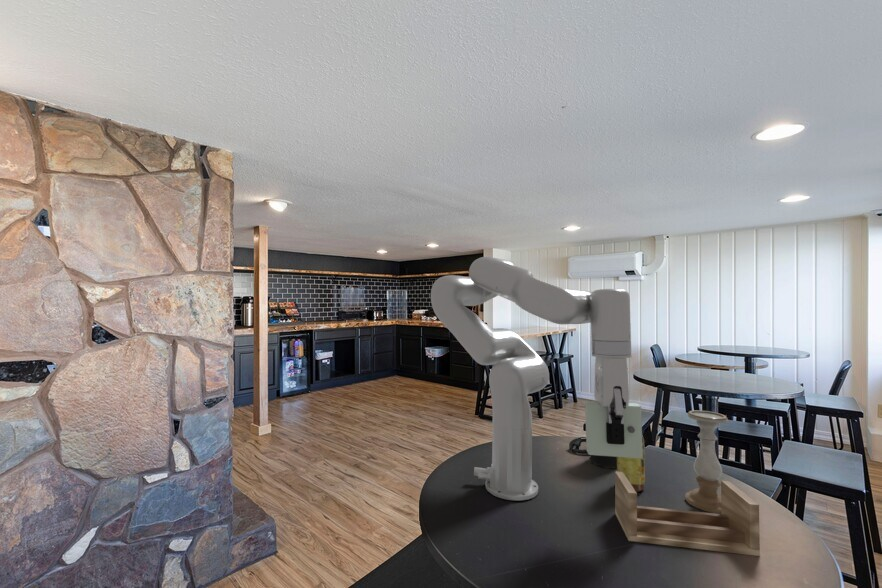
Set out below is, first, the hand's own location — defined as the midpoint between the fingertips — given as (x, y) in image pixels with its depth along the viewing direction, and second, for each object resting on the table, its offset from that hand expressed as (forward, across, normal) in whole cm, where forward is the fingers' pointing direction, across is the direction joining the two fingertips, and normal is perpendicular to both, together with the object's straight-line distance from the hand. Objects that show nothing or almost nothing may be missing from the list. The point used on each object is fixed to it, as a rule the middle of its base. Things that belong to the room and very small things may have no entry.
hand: (613, 439), depth 79 cm
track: (+18, -2, +12) cm, 22 cm away
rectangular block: (+3, 0, 0) cm, 3 cm away
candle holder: (+18, -16, +23) cm, 33 cm away
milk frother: (+17, -40, +3) cm, 44 cm away
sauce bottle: (+18, -21, +8) cm, 29 cm away
